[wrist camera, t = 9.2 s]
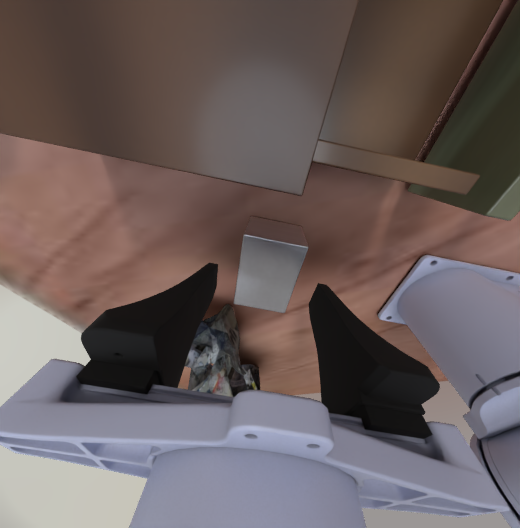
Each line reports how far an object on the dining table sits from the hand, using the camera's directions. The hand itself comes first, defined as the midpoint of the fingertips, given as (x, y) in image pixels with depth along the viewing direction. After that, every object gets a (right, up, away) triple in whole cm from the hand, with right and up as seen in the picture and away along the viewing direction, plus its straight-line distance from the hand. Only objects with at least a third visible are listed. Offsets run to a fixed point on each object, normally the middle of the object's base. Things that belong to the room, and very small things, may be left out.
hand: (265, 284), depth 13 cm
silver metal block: (0, +2, +4) cm, 5 cm away
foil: (-5, -8, +12) cm, 15 cm away
